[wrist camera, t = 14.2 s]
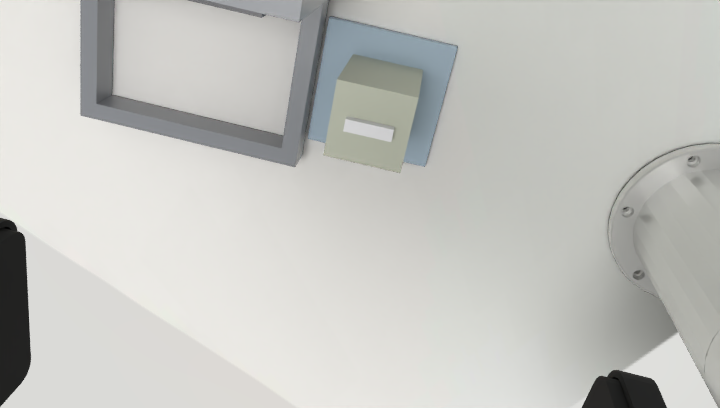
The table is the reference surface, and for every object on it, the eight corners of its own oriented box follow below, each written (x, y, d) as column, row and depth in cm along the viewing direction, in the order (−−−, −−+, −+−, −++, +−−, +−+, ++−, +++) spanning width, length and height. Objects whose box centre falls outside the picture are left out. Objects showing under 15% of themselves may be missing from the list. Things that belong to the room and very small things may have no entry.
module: (423, 69, 44) (418, 100, 37) (406, 136, 46) (399, 177, 39) (353, 53, 44) (335, 81, 37) (340, 120, 46) (321, 158, 39)
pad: (457, 45, 43) (457, 47, 43) (425, 163, 47) (424, 166, 47) (330, 16, 43) (328, 17, 43) (309, 136, 47) (307, 138, 47)
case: (349, -32, 42) (302, 0, 28) (314, 158, 48) (262, 257, 35) (79, -94, 42) (-93, -93, 29) (79, 101, 49) (-62, 177, 35)
